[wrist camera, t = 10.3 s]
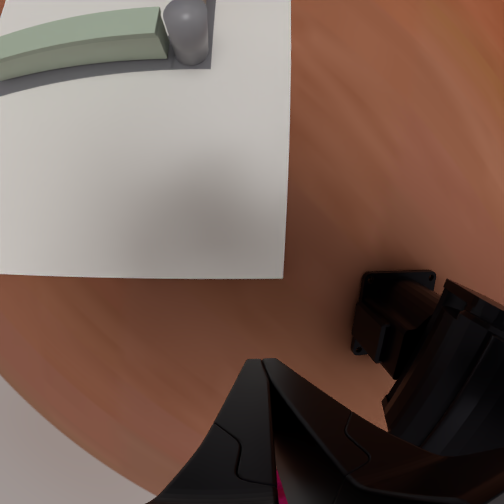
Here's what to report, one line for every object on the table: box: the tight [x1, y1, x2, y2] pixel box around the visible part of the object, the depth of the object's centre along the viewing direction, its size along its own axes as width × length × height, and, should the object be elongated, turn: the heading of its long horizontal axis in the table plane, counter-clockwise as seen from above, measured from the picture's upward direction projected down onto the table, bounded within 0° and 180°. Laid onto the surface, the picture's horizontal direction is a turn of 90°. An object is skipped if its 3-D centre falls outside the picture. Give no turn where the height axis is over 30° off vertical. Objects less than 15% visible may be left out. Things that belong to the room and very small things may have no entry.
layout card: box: [0, 0, 291, 279], centre depth 14 cm, size 22×26×6 cm
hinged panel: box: [0, 7, 170, 81], centre depth 13 cm, size 12×2×4 cm, turn 86°
